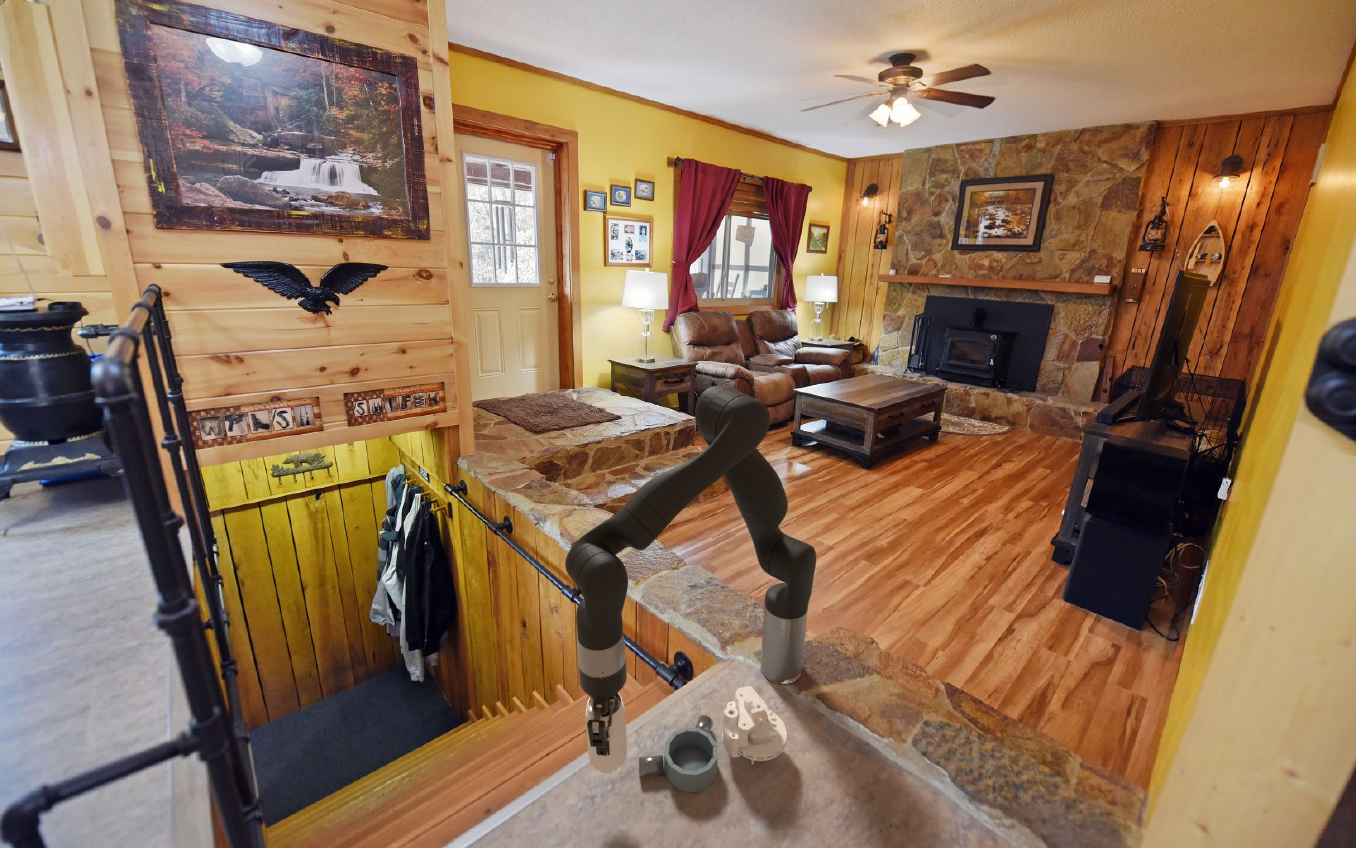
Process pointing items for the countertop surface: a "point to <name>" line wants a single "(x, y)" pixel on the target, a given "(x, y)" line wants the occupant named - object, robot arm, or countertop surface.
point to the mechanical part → (752, 728)
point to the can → (610, 739)
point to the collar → (690, 760)
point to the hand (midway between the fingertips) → (607, 736)
